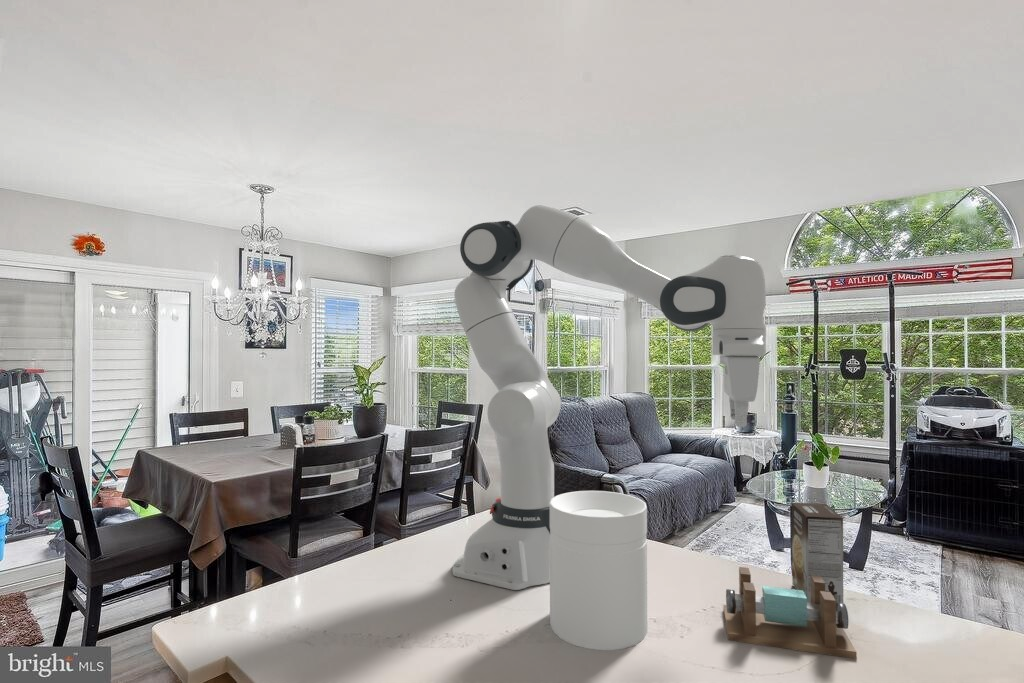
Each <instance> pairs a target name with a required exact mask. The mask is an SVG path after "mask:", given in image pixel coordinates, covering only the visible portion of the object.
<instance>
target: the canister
mask: <svg viewBox="0 0 1024 683" xmlns="http://www.w3.org/2000/svg"><path fill="white" fill-rule="evenodd" d="M647 534H648V508H647V503H646V502H645V501H644V500H642V499H641V498H638V497H635V496H633V495H629V494H625V493H620V492H614V491H606V490H578V491H577V490H575V491H570V492H565V493H560V494H557V495H554V497H553V498H552V499H551V500H550V582H549V625H550V627H551V629H552V630H551V631H553V633H554V634H556V636H557V637H559V638H560V639H561V640H563V641H565V642H567V643H569V644H571V645H573V646H576V647H579V648H584V649H587V650H595V651H598V650H599V651H604V652H605V651H616V650H617V651H618V650H624V649H626V648H627V649H628V648H630V647H633V646H636V645H637V644H639V643H640V642H642V641H643V640H644V639H645V637H646V636H647V634H648V633H649V632H648V624H649V623H648V541H647Z"/></svg>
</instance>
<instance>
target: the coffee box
mask: <svg viewBox="0 0 1024 683" xmlns="http://www.w3.org/2000/svg"><path fill="white" fill-rule="evenodd" d="M791 567H792V568H791V570H792V571H791V573H792V574H791V576H792V577H791V578H792V580H791V581H792V586H793V587H794V589H795V590H803V592H804V594H805V596H806V598H807V603H811V577H810V575H818V576H821V577H822V579H823V581H824V582H825V592H831V594H832V595H833V597H834V599H835V600H836V602H837V603H844V518H843V517H842V516H841V515H840V514H839V513H837V511H835V510H834V509H833V508H831V507H830V505H828V504H827V503H815V502H813V503H811V502H791Z"/></svg>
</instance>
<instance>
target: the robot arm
mask: <svg viewBox="0 0 1024 683" xmlns="http://www.w3.org/2000/svg"><path fill="white" fill-rule="evenodd" d="M459 251H460V256H461V260H462V261H463V263H464V264H465V266H466V267H467V268H468V269H469V270H470V271H472V272H471V273H470V274H469V275H468V276H467V277H465V278H463V279H462V280H461V281H460V282H459V283H458V284H457V285H456V287H455V289H454V300H455V306H456V310H457V314H458V316H459V320H460V323H461V325H462V328H463V331H464V333H465V334H466V338H467V340H468V342H469V344H470V346H471V349H472V351H473V354H474V356H475V358H476V360H477V363H478V365H479V368H480V369H481V370H482V371H483V372H484V373H485V374H486V375H487V376H488V378H490V380H491V381H492V383H493V384H494V385H495V387H496V389H497V390H498V391H497V392H496V393H495V394H494V396H493V397H492V398H491V399H490V401H489V403H488V406H487V412H486V414H487V419H488V423H489V425H490V427H491V429H492V430H493V432H494V433H493V434H494V436H495V442H496V447H497V452H498V453H497V454H498V459H499V467H500V468H499V469H500V496H498V498H497V499H495V502H494V503H492V505H491V507H490V508H489V515H491V517H492V518H490V520H488V521H486V522H485V523H484V524H483V525H481V526H480V527H479V528H478V529H477V530H475V531H474V532H473V533H472V534H471V535H470V536H469V537H468V539H467V541H466V544H465V546H464V551H463V554H462V555H460V556H459V557H458V558H457V559H456V560H455V561H454V563H453V565H452V571H451V572H452V575H453V576H454V577H457V578H462V579H464V580H465V579H466V580H471V581H474V582H479V583H483V584H487V585H491V586H495V587H500V588H503V589H509V590H512V591H519V590H523V589H526V588H528V587H532V586H533V587H534V586H539V585H544V584H550V500H551V499H552V498H553V497H555V463H554V460H553V458H552V454H551V450H550V443H549V436H548V429H549V427H551V426H552V425H553V424H554V423H555V422H556V421H557V419H558V417H559V415H560V413H561V407H562V400H561V396H560V394H559V391H557V389H556V388H555V387H554V385H553V384H552V382H551V380H550V379H549V377H548V375H547V373H546V371H545V370H544V368H543V367H542V365H541V363H540V362H539V360H538V359H537V358H536V356H535V354H534V352H533V351H532V350H531V347H530V346H529V344H528V341H527V340H526V338H525V337H526V336H524V333H523V331H522V329H521V327H520V323H519V322H518V321H517V318H516V316H515V313H514V312H513V309H512V307H511V305H510V303H509V300H508V297H507V293H506V292H507V291H511V290H512V289H513V288H514V287H516V285H517V284H518V283H519V282H520V281H522V280H523V279H524V278H526V276H527V275H528V274H529V273H530V272H531V271H532V269H533V265H534V263H535V262H534V261H535V260H536V261H540V262H543V263H545V264H547V265H548V266H550V267H552V268H555V269H556V270H559V271H561V273H562V272H563V273H565V274H567V275H570V276H573V277H575V278H579V279H583V280H585V281H590V282H594V283H599V284H603V285H607V286H611V287H613V288H617V289H620V290H622V291H625V292H626V293H628V294H631V295H633V296H635V297H636V298H638V299H640V300H642V301H645V302H646V303H648V304H650V305H652V306H653V307H655V308H657V309H658V310H659V311H660V312H661V313H662V314H663V316H664V317H665V318H666V319H667V320H668V321H669V322H670V323H671V325H672V326H674V327H675V328H677V329H678V330H681V331H683V332H689V333H690V332H697V331H700V330H703V329H705V328H707V327H708V326H709V325H710V324H711V325H712V355H713V356H719V364H720V365H724V366H723V367H724V368H723V370H724V371H723V391H724V393H725V394H726V395H727V396H728V400H729V408H730V416H729V417H730V418H731V420H734V424H735V426H736V427H740V428H741V427H743V428H744V427H747V424H748V412H749V404H750V403H749V402H755V401H756V397H757V393H758V386H759V385H758V384H759V378H760V377H759V376H760V365H761V360H760V357H761V358H762V357H764V356H766V332H767V331H766V330H767V329H766V324H765V321H764V313H765V309H766V303H767V299H766V298H767V294H766V279H765V274H764V273H765V272H764V268H763V267H762V265H761V264H760V263H759V261H757V259H754V258H750V257H748V256H742V255H737V254H736V255H734V254H733V255H727V254H726V255H723V256H719V257H718V258H716V259H715V260H714V261H713V262H710V263H709V264H708V265H706V266H705V267H702V268H700V269H698V270H696V271H693V272H690V273H686V274H684V275H680V276H677V277H674V278H673V279H671V278H669V277H668V276H665V275H662V274H660V273H658V272H657V271H655V270H652V269H651V268H649V267H647V266H645V265H643V264H641V263H639V262H637V261H636V260H635V259H633V258H632V257H631V256H629V255H628V254H627V253H626V252H624V250H623V249H621V247H620V246H619V245H618V244H617V243H616V241H614V239H612V237H610V235H608V234H607V233H606V232H604V231H603V230H602V229H600V228H599V227H597V226H596V225H594V224H592V223H591V222H589V221H587V220H586V219H583V218H581V217H579V216H577V215H574V214H572V213H569V212H566V211H564V210H561V209H558V208H554V207H551V206H546V205H540V204H539V205H534V206H533V205H532V206H531V207H529V208H528V209H526V211H524V213H523V214H522V215H521V217H520V219H519V220H518V222H517V223H516V224H514V223H512V221H510V220H501V221H488V222H482V223H477V224H475V225H473V226H471V227H469V228H468V229H467V230H466V232H465V233H463V236H462V238H461V241H460V245H459Z"/></svg>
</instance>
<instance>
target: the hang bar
mask: <svg viewBox="0 0 1024 683" xmlns="http://www.w3.org/2000/svg"><path fill="white" fill-rule="evenodd" d="M725 602H726V604H725V605H726V607H727V613H731V614H735V613H736V611H743V595H742V594H739V593H736V591H735V589H728V588H726V589H725ZM756 613H758V614H763V615H764V619H765V621H767V622H775V623H782V624H790V625H797V626H804V627H807V620H811V621H819V622H820V604H815V603H807V598H806V596H805V594H804V592H803V590H796V589H795V588H794V589H793V588H784V587H776V586H770V585H769V586H767V585H762V596H757V595H756ZM849 621H850V620H849V613H848V608H847V605H846V603H844V602H843V603H837V602H836V626H837V628H843V629H844V630H847V629H849Z"/></svg>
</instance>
